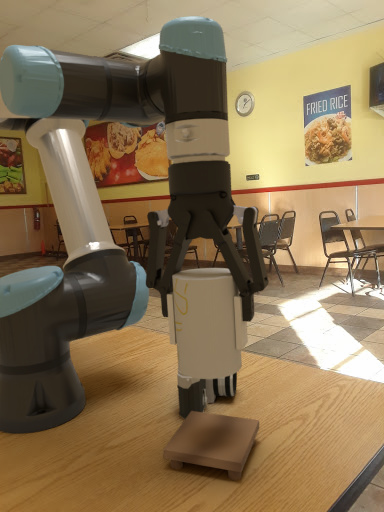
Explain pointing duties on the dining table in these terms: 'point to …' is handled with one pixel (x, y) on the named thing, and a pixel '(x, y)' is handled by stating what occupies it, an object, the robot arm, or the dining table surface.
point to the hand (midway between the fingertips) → (208, 343)
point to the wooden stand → (213, 442)
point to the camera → (202, 391)
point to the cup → (206, 323)
